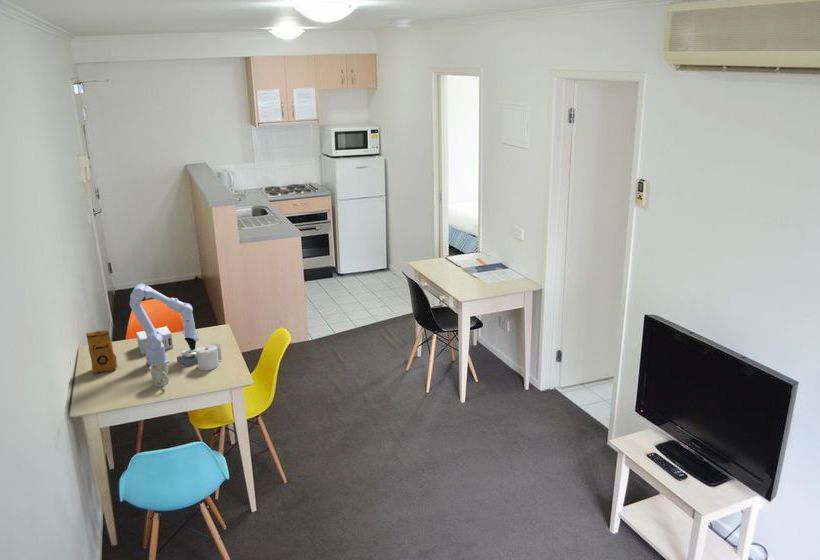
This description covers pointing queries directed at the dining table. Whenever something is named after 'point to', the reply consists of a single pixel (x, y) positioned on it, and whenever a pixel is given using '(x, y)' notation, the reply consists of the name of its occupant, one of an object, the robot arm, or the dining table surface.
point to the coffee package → (101, 351)
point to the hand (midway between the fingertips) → (192, 349)
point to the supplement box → (144, 343)
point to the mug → (159, 374)
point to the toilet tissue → (208, 356)
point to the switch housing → (187, 360)
